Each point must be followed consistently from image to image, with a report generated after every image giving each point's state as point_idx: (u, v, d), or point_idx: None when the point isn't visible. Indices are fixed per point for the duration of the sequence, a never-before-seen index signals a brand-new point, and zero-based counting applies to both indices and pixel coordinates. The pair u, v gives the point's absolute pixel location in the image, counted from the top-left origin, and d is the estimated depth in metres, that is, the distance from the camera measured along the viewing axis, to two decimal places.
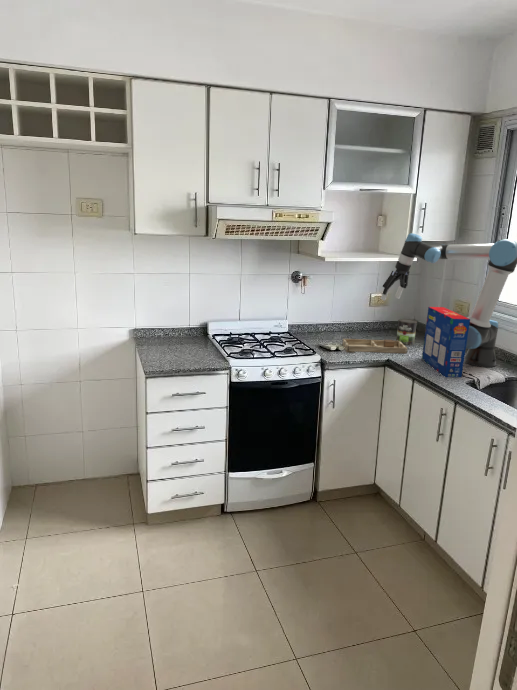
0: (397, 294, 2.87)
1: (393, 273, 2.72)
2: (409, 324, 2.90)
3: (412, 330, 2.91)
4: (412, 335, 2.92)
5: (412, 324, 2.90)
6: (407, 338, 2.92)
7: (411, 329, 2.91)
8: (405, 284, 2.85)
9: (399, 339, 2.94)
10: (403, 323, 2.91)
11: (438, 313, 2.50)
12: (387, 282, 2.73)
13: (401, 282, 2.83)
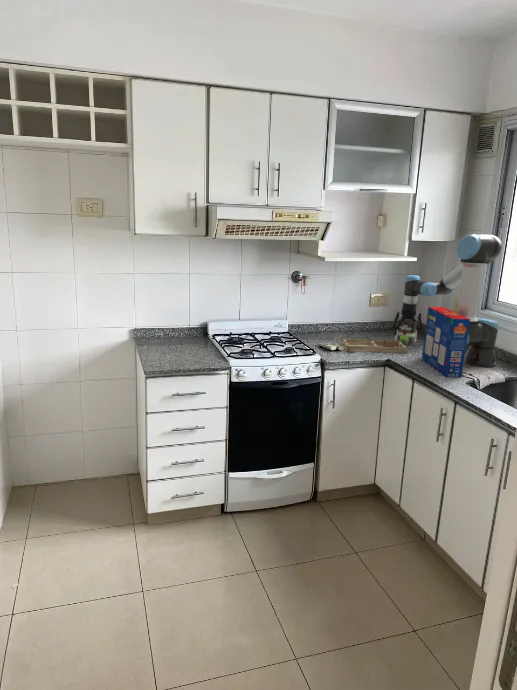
0: None
1: (396, 313, 2.93)
2: (409, 324, 2.90)
3: (412, 330, 2.91)
4: (412, 335, 2.92)
5: (412, 324, 2.90)
6: (407, 337, 2.92)
7: (411, 329, 2.91)
8: (420, 327, 2.94)
9: (399, 339, 2.94)
10: (403, 323, 2.91)
11: (438, 313, 2.50)
12: (393, 322, 2.94)
13: None
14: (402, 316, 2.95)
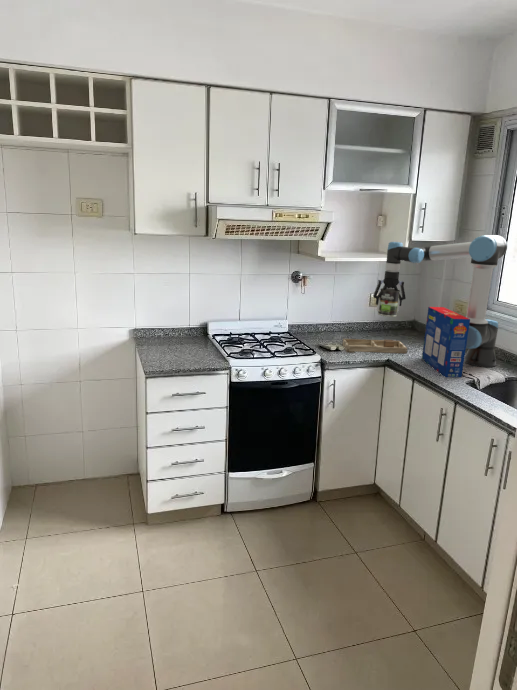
0: None
1: (378, 282, 2.82)
2: (391, 293, 2.79)
3: (394, 299, 2.80)
4: (394, 304, 2.81)
5: (394, 293, 2.79)
6: (389, 307, 2.81)
7: (393, 298, 2.80)
8: (402, 296, 2.83)
9: (381, 309, 2.84)
10: (385, 292, 2.80)
11: (438, 313, 2.50)
12: (375, 291, 2.84)
13: None
14: (384, 285, 2.84)
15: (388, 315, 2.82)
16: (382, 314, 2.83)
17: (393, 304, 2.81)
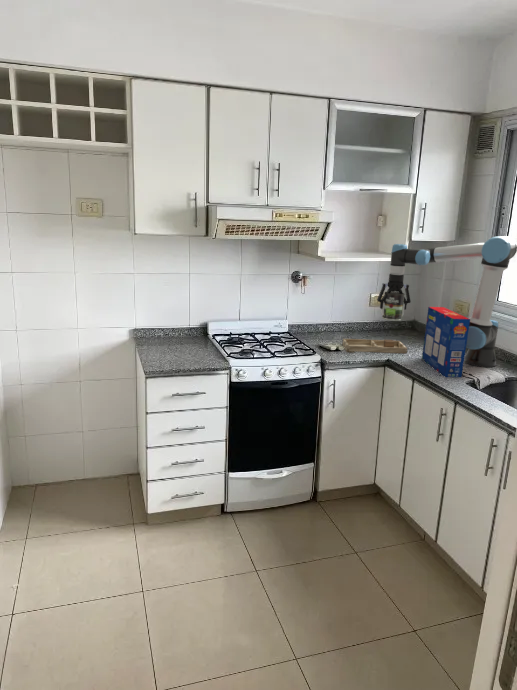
0: None
1: (382, 285, 2.75)
2: (396, 296, 2.72)
3: (399, 302, 2.73)
4: (399, 308, 2.74)
5: (399, 296, 2.72)
6: (394, 311, 2.74)
7: (398, 301, 2.72)
8: (407, 300, 2.76)
9: (385, 313, 2.76)
10: (389, 295, 2.73)
11: (438, 313, 2.50)
12: (379, 295, 2.76)
13: None
14: (389, 288, 2.77)
15: (393, 319, 2.75)
16: (387, 318, 2.76)
17: (398, 308, 2.73)
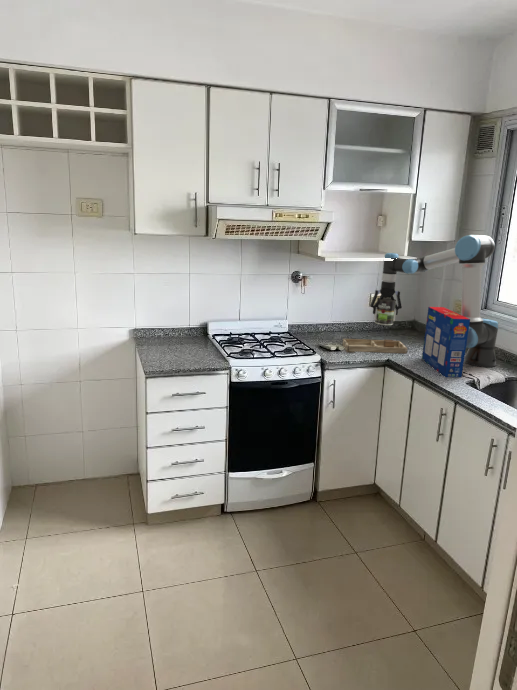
0: None
1: (375, 292, 2.91)
2: (388, 302, 2.88)
3: (391, 308, 2.89)
4: (391, 313, 2.90)
5: (391, 302, 2.88)
6: (386, 316, 2.90)
7: (390, 307, 2.88)
8: (399, 306, 2.92)
9: (378, 318, 2.92)
10: (382, 301, 2.89)
11: (438, 313, 2.50)
12: (372, 301, 2.92)
13: None
14: (381, 295, 2.93)
15: (385, 324, 2.91)
16: (379, 323, 2.92)
17: (390, 313, 2.90)
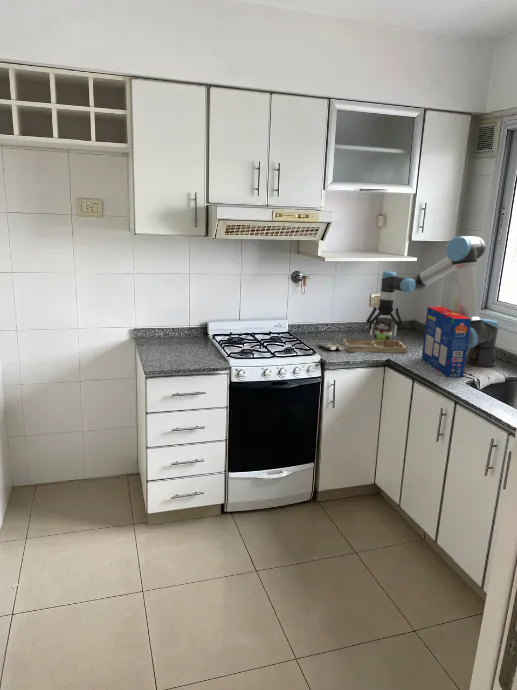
0: (394, 332, 2.97)
1: (373, 308, 2.93)
2: (386, 323, 2.91)
3: (389, 328, 2.92)
4: (389, 334, 2.93)
5: (389, 323, 2.91)
6: (384, 336, 2.93)
7: (388, 327, 2.91)
8: (399, 322, 2.95)
9: (376, 338, 2.95)
10: (380, 322, 2.92)
11: (438, 313, 2.50)
12: (369, 317, 2.95)
13: (393, 319, 2.95)
14: (379, 312, 2.95)
15: None
16: None
17: (388, 333, 2.92)
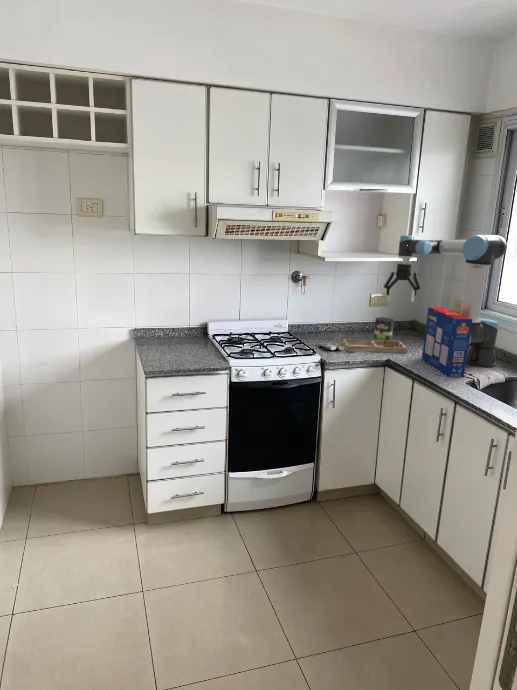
0: (411, 297, 2.95)
1: (391, 273, 2.90)
2: (386, 323, 2.91)
3: (389, 328, 2.92)
4: (389, 334, 2.93)
5: (389, 323, 2.91)
6: (384, 336, 2.93)
7: (388, 327, 2.91)
8: (417, 287, 2.92)
9: (376, 338, 2.95)
10: (380, 322, 2.92)
11: (439, 313, 2.50)
12: (386, 282, 2.91)
13: (410, 284, 2.92)
14: (396, 277, 2.92)
15: None
16: None
17: (388, 333, 2.93)
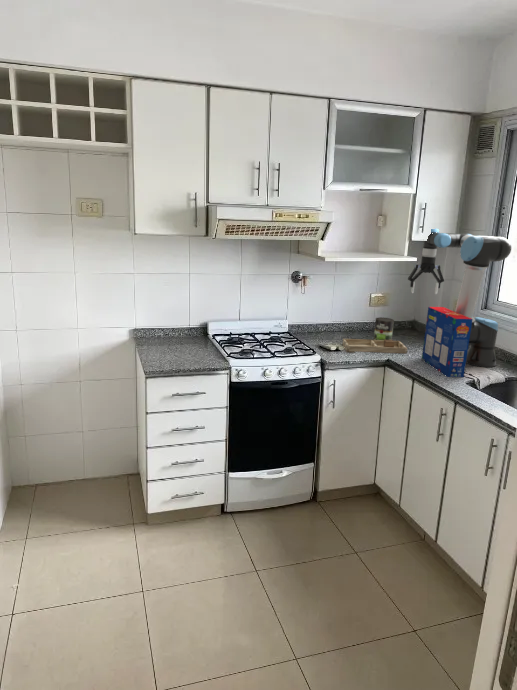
0: (435, 290, 2.98)
1: (415, 266, 2.94)
2: (386, 323, 2.91)
3: (389, 328, 2.92)
4: (389, 334, 2.93)
5: (389, 323, 2.91)
6: (384, 336, 2.93)
7: (388, 327, 2.91)
8: (441, 279, 2.95)
9: (376, 338, 2.95)
10: (380, 322, 2.92)
11: (439, 313, 2.50)
12: (410, 274, 2.95)
13: (435, 277, 2.96)
14: None
15: None
16: None
17: (388, 333, 2.93)
